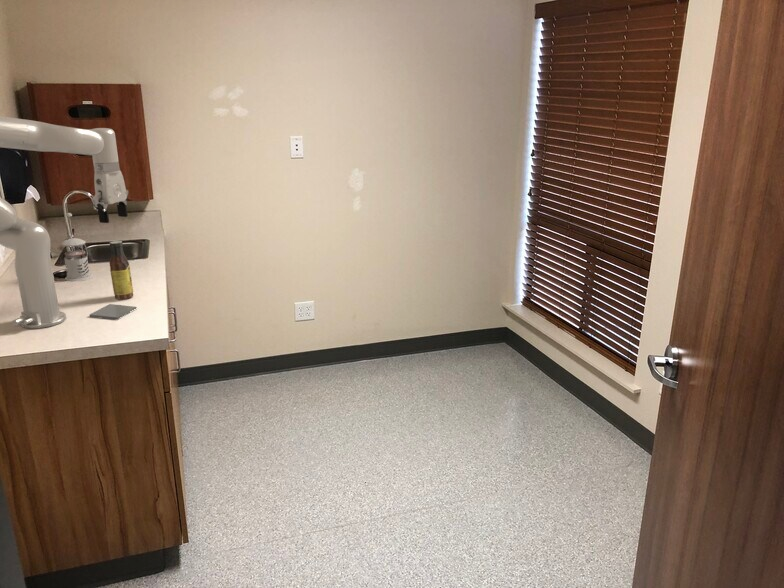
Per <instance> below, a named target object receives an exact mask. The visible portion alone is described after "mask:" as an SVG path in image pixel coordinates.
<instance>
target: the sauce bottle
mask: <svg viewBox="0 0 784 588" xmlns="http://www.w3.org/2000/svg"><path fill="white" fill-rule="evenodd" d="M123 246H124V244H123V241H122V240H115V241H114V240H113V241H110V242H109V247H110V251H111V257H110V260H109V271H110V275H111V276H110V277H111V283H112V290H113V295H114V297H115V299H117V300H119V301H120V300H122V301H124V300H129V299H131V298H133V297H134V287H133V282H132V281H133V280H132V273H131V267H130V262H129V260H128V258H127V256H126V255H125V253H124V247H123ZM123 299H124V300H123Z"/></svg>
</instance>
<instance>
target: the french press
mask: <svg viewBox="0 0 784 588" xmlns="http://www.w3.org/2000/svg"><path fill="white" fill-rule="evenodd" d="M65 215H66V217H68V220H69V225H70V230H71V237H72V238H69V239H65V240H64V241H62V242H61V245H62V246H63V247H73V250H71V251H68V252H67V251H66V252H65V253H64V264H65V270H66V277H65V278H64V281H67V282H83V281H87V280H88V281H89V280H90V279H92V278H93V277H94V275H93V274H92V273H90V267H89V260H88V249H87V246H86V240H83V239H82V238H75V237H74V235H73V229H72V223H71V217H72V216H73V214H72V213H71V212H67V213H66V214H65ZM83 245H84V247H85V250H86V251H85V250H84V249H83V248H84V247H83ZM75 247H80V248H81V250H76V248H75ZM81 256H82V257H81Z"/></svg>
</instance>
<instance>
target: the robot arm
mask: <svg viewBox="0 0 784 588" xmlns="http://www.w3.org/2000/svg"><path fill="white" fill-rule="evenodd" d="M0 148H2V149H3V148H5V149H15V150H24V151H35V152H45V153H46V152H54V153H66V154H67V153H68V154H77V155H84V156H92V164H93V170H94V176H93V177H94V178H93V179H94V181H93V183H94V192H95V194H94V195H93V196H92V198H91V202H92V204H93V207H94V208H95V209H96V211H97V213H98V220H99V223H102V224H109V223H110V219H109V211H108V210H107V208H108V206H109V205H114V204H116V206H117V207H116V208H117V215H118V217H122V218H127V217H129V216H128V209H127V205H128V200H129V197H128V196H129V190H128V189H126V184H125V180H124V179H125V178H124V175H123V173H122V171H121V168H120V162H119V155H118V147H117V138H116V133H115V131H114V130H113V129H112V128H107V127H96V128H91V129H90V128H89V129H85V128H77V127H72V126H65V125H59V124H58V125H57V124H51V123H47V122H43V121H37V120H32V119H31V120H30V119H25V118H23V119H22V118H17V117H8V116H3V115H0ZM0 245H1V246H3V247H5V248H7V249H10V250H14V251H15V257H14V258H15V259H14V270H15V275H16V278H17V279H16V280H17V284H18V290H19V295H20V299H21V304H22V305H21V306H22V310H23V311H21V312H20V314H21V315H20V316H19V317H17V318H14V319H13V320H12V325H13V326H14V327H17V326H21V327H22V328H25V329H43V328H49V327H53V326H56V325H58V324H62V323H63V322H64V321H65V320H66V319H67V315H66V313H65V312H63V311H60V306H59V302H58V301H59V300H58V294H57V289H56V283H55V277H54V273H53V267H52V260H51V259H52V258H51V237H50V233H49V232H48V230H47V229H46V228H45V227H44V226H42V225H41V224H39V223H37V222H35V221H31V220H28V219H27V220H26V219H22V218H19V217H18V214H17V211H16V210H15V208H14V207H13V206H12V205H11V203H9V202H8V201H7V200H5V199H4V198H2V197H1V196H0Z"/></svg>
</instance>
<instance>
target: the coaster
mask: <svg viewBox="0 0 784 588" xmlns="http://www.w3.org/2000/svg"><path fill="white" fill-rule="evenodd" d="M136 308H137V306H132V305H122V304H115V303H114V304H113V303H109V304H107V305H105V306H102V307H101V308H99V309H97V310H95V311H93V312H91V313H89V317H90V318H96V317H102V318H101V319H105V318H110V319H109V320H115V319H118V320H120V319H121V318H120V317H122V316H124V315H125V314H127V313H129V312H130V311H132V310H134V309H136ZM137 309H138V308H137ZM137 309H136V310H137ZM134 311H135V310H134ZM132 312H133V311H132ZM129 314H130V313H129ZM127 315H128V314H127ZM125 316H126V315H125ZM125 316H124V317H125ZM119 318H120V319H119ZM122 318H123V317H122Z"/></svg>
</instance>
